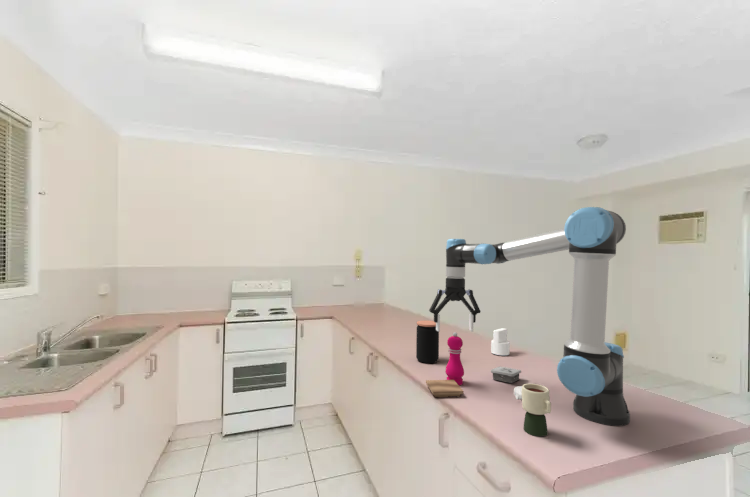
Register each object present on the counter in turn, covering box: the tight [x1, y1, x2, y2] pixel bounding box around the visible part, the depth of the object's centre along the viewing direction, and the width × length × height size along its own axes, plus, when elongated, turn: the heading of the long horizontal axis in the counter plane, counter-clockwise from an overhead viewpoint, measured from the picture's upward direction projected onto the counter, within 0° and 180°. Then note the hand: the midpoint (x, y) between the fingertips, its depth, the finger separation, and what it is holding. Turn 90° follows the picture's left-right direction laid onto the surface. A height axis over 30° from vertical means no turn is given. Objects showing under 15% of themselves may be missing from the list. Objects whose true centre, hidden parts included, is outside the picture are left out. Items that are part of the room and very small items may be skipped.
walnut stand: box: [425, 379, 465, 398], centre depth 126 cm, size 11×11×2 cm
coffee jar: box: [415, 320, 440, 364], centre depth 165 cm, size 11×11×18 cm
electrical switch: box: [490, 365, 522, 384], centre depth 140 cm, size 9×5×9 cm
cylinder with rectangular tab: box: [490, 327, 511, 356], centre depth 178 cm, size 9×9×12 cm
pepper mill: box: [445, 331, 465, 386], centre depth 136 cm, size 7×7×20 cm
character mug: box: [521, 383, 552, 437], centre depth 98 cm, size 11×7×13 cm, turn 17°
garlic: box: [513, 385, 523, 400], centre depth 122 cm, size 8×7×4 cm
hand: (454, 330), depth 137 cm, fingers open, 13 cm apart
